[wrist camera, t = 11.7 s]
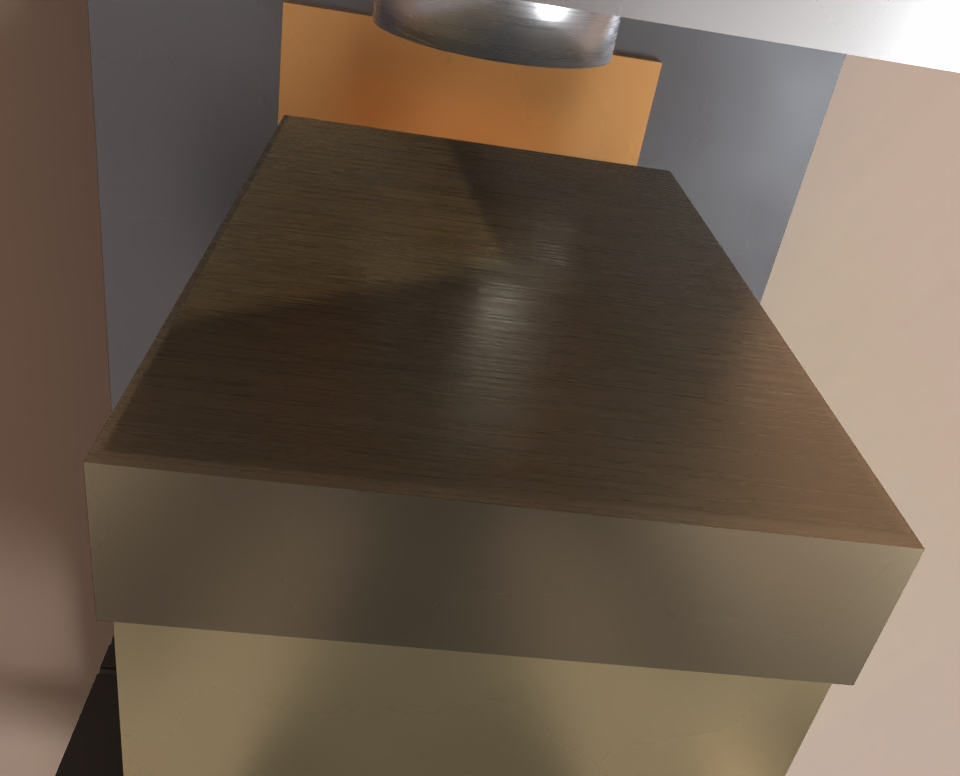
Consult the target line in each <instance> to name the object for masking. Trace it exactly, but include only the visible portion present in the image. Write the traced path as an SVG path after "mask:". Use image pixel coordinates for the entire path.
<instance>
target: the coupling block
mask: <svg viewBox="0 0 960 776" xmlns="http://www.w3.org/2000/svg"><path fill="white" fill-rule="evenodd" d="M84 474H85V487H86V499H87V512H88V524H89V537H90V549H91V562H92V575H93V587H94V600H95V612H96V620H97V621H109V622H113V625H114V640H115V655H116V670H117V685H118V700H119V715H120V730H121V745H122V760H123V775H124V776H785V775H786V773H787V771H788V769H789V767H790V765H791V763H792V761H793V759H794V757H795V755H796V753H797V751H798V749H799V747H800V745H801V743H802V741H803V739H804V737H805V735H806V733H807V731H808V729H809V727H810V725H811V723H812V722H813V720H814V718H815V716H816V714H817V712H818V710H819V708H820V706H821V704H822V702H823V700H824V698H825V696H826V694H827V692H828V690H829V688H830V686H831V684H832V683H833V684H845V685H854V683H855V681H856V679H857V677H858V675H859V674H860V672H861V670H862V668H863V666H864V664H865V662H866V660H867V658H868V656H869V654H870V653H871V651H872V649H873V647H874V645H875V643H876V641H877V639H878V637H879V635H880V634H881V632H882V630H883V628H884V626H885V624H886V622H887V620H888V618H889V616H890V615H891V613H892V611H893V609H894V607H895V605H896V603H897V601H898V599H899V597H900V595H901V594H902V592H903V590H904V588H905V586H906V584H907V582H908V580H909V578H910V576H911V575H912V573H913V571H914V569H915V567H916V565H917V563H918V561H919V559H920V557H921V555H922V554H923V552H924V550H925V549H924V547H923V546H922V544H921V543H920V541H919V540H918V538H917V537H916V535H915V534H914V532H913V531H912V529H911V528H910V527H909V525H908V524H907V522H906V521H905V519H904V518H903V516H902V515H901V513H900V512H899V510H898V509H897V507H896V506H895V504H894V503H893V501H892V500H891V498H890V497H889V495H888V494H887V492H886V491H885V489H884V488H883V486H882V485H881V483H880V482H879V480H878V479H877V477H876V476H875V474H874V473H873V472H872V470H871V469H870V467H869V466H868V464H867V463H866V461H865V460H864V458H863V457H862V455H861V454H860V452H859V451H858V449H857V448H856V446H855V445H854V443H853V442H852V440H851V439H850V437H849V436H848V434H847V433H846V431H845V430H844V428H843V427H842V425H841V424H840V422H839V421H838V419H837V418H836V417H835V415H834V414H833V412H832V411H831V409H830V408H829V406H828V405H827V403H826V402H825V400H824V399H823V397H822V396H821V394H820V393H819V391H818V390H817V388H816V387H815V385H814V384H813V382H812V381H811V379H810V378H809V376H808V375H807V373H806V372H805V370H804V369H803V367H802V366H801V365H800V363H799V362H798V360H797V359H796V357H795V356H794V354H793V353H792V351H791V350H790V348H789V347H788V345H787V344H786V342H785V341H784V339H783V338H782V336H781V335H780V333H779V332H778V330H777V329H776V327H775V326H774V324H773V323H772V321H771V320H770V318H769V317H768V315H767V314H766V312H765V311H764V310H763V308H762V307H761V305H760V304H759V302H758V301H757V299H756V298H755V296H754V295H753V293H752V292H751V290H750V289H749V287H748V286H747V284H746V283H745V281H744V280H743V278H742V277H741V275H740V274H739V272H738V271H737V269H736V268H735V266H734V265H733V263H732V262H731V260H730V259H729V257H728V256H727V255H726V253H725V252H724V250H723V249H722V247H721V246H720V244H719V243H718V241H717V240H716V238H715V237H714V235H713V234H712V232H711V231H710V229H709V228H708V226H707V225H706V223H705V222H704V220H703V219H702V217H701V216H700V214H699V213H698V211H697V210H696V208H695V207H694V205H693V204H692V202H691V201H690V200H689V198H688V197H687V195H686V194H685V192H684V191H683V189H682V188H681V186H680V185H679V183H678V182H677V180H676V179H675V177H674V176H673V174H672V173H671V171H668V170H661V169H654V168H647V167H640V166H633V165H626V164H620V163H613V162H606V161H599V160H592V159H585V158H578V157H572V156H565V155H558V154H551V153H544V152H537V151H530V150H524V149H517V148H510V147H503V146H496V145H489V144H483V143H476V142H469V141H462V140H455V139H448V138H441V137H435V136H428V135H421V134H414V133H407V132H400V131H393V130H387V129H380V128H373V127H366V126H359V125H352V124H345V123H339V122H332V121H325V120H318V119H311V118H304V117H298V116H291V115H284V116H283V118H282V120H281V121H280V123H279V125H278V127H277V128H276V130H275V132H274V134H273V135H272V137H271V139H270V140H269V142H268V144H267V146H266V147H265V149H264V151H263V153H262V154H261V156H260V158H259V160H258V161H257V163H256V165H255V166H254V168H253V170H252V172H251V173H250V175H249V177H248V179H247V180H246V182H245V184H244V185H243V187H242V189H241V191H240V192H239V194H238V196H237V198H236V199H235V201H234V203H233V205H232V206H231V208H230V210H229V211H228V213H227V215H226V217H225V218H224V220H223V222H222V224H221V225H220V227H219V229H218V230H217V232H216V234H215V236H214V237H213V239H212V241H211V243H210V244H209V246H208V248H207V250H206V251H205V253H204V255H203V256H202V258H201V260H200V262H199V263H198V265H197V267H196V269H195V270H194V272H193V274H192V275H191V277H190V279H189V281H188V282H187V284H186V286H185V288H184V289H183V291H182V293H181V294H180V296H179V298H178V300H177V301H176V303H175V305H174V307H173V308H172V310H171V312H170V314H169V315H168V317H167V319H166V320H165V322H164V324H163V326H162V327H161V329H160V331H159V333H158V334H157V336H156V338H155V339H154V341H153V343H152V345H151V346H150V348H149V350H148V352H147V353H146V355H145V357H144V359H143V360H142V362H141V364H140V365H139V367H138V369H137V371H136V372H135V374H134V376H133V378H132V379H131V381H130V383H129V384H128V386H127V388H126V390H125V391H124V393H123V395H122V397H121V398H120V400H119V402H118V404H117V405H116V407H115V409H114V410H113V412H112V414H111V416H110V417H109V419H108V421H107V423H106V424H105V426H104V428H103V429H102V431H101V433H100V435H99V436H98V438H97V440H96V442H95V443H94V445H93V447H92V449H91V450H90V452H89V454H88V455H87V457H86V459H85V461H84Z"/></svg>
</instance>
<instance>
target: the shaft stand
mask: <svg viewBox="0 0 960 776" xmlns="http://www.w3.org/2000/svg"><path fill="white" fill-rule="evenodd" d="M88 14H89V31H90V49H91V66H92V83H93V100H94V117H95V135H96V152H97V169H98V186H99V204H100V221H101V238H102V255H103V273H104V290H105V307H106V324H107V341H108V359H109V376H110V393H111V410H112V412H113V410H114V409H115V407H116V405H117V404H118V402H119V400H120V398H121V397H122V395H123V393H124V391H125V390H126V388H127V386H128V384H129V383H130V381H131V379H132V378H133V376H134V374H135V372H136V371H137V369H138V367H139V365H140V364H141V362H142V360H143V359H144V357H145V355H146V353H147V352H148V350H149V348H150V346H151V345H152V343H153V341H154V339H155V338H156V336H157V334H158V333H159V331H160V329H161V327H162V326H163V324H164V322H165V320H166V319H167V317H168V315H169V314H170V312H171V310H172V308H173V307H174V305H175V303H176V301H177V300H178V298H179V296H180V294H181V293H182V291H183V289H184V288H185V286H186V284H187V282H188V281H189V279H190V277H191V275H192V274H193V272H194V270H195V269H196V267H197V265H198V263H199V262H200V260H201V258H202V256H203V255H204V253H205V251H206V250H207V248H208V246H209V244H210V243H211V241H212V239H213V237H214V236H215V234H216V232H217V230H218V229H219V227H220V225H221V224H222V222H223V220H224V218H225V217H226V215H227V213H228V211H229V210H230V208H231V206H232V205H233V203H234V201H235V199H236V198H237V196H238V194H239V192H240V191H241V189H242V187H243V185H244V184H245V182H246V180H247V179H248V177H249V175H250V173H251V172H252V170H253V168H254V166H255V165H256V163H257V161H258V160H259V158H260V156H261V154H262V153H263V151H264V149H265V147H266V146H267V144H268V142H269V140H270V139H271V137H272V135H273V134H274V132H275V130H276V128H277V127H278V125H279V123H280V121H281V120H282V118H283V116H284V115H291V116H298V117H304V118H311V119H318V120H325V121H332V122H339V123H345V124H352V125H359V126H366V127H373V128H380V129H387V130H393V131H400V132H407V133H414V134H421V135H428V136H435V137H441V138H448V139H455V140H462V141H469V142H476V143H483V144H489V145H496V146H503V147H510V148H517V149H524V150H530V151H537V152H544V153H551V154H558V155H565V156H572V157H578V158H585V159H592V160H599V161H606V162H613V163H620V164H626V165H633V166H640V167H647V168H654V169H661V170H668V171H671V173H672V174H673V176H674V177H675V179H676V180H677V182H678V183H679V185H680V186H681V188H682V189H683V191H684V192H685V194H686V195H687V197H688V198H689V200H690V201H691V202H692V204H693V205H694V207H695V208H696V210H697V211H698V213H699V214H700V216H701V217H702V219H703V220H704V222H705V223H706V225H707V226H708V228H709V229H710V231H711V232H712V234H713V235H714V237H715V238H716V240H717V241H718V243H719V244H720V246H721V247H722V249H723V250H724V252H725V253H726V255H727V256H728V257H729V259H730V260H731V262H732V263H733V265H734V266H735V268H736V269H737V271H738V272H739V274H740V275H741V277H742V278H743V280H744V281H745V283H746V284H747V286H748V287H749V289H750V290H751V292H752V293H753V295H754V296H755V298H756V299H757V301H758V302H759V304H760V302H761V299H762V296H763V293H764V290H765V287H766V284H767V281H768V278H769V275H770V273H771V270H772V267H773V264H774V261H775V258H776V255H777V252H778V249H779V247H780V244H781V241H782V238H783V235H784V232H785V229H786V226H787V223H788V221H789V218H790V215H791V212H792V209H793V206H794V203H795V200H796V197H797V195H798V192H799V189H800V186H801V183H802V180H803V177H804V174H805V171H806V168H807V166H808V163H809V160H810V157H811V154H812V151H813V148H814V145H815V142H816V140H817V137H818V134H819V131H820V128H821V125H822V122H823V119H824V116H825V114H826V111H827V108H828V105H829V102H830V99H831V96H832V93H833V90H834V88H835V85H836V82H837V79H838V76H839V73H840V70H841V67H842V64H843V61H844V59H845V56H846V54H849V55H856V56H862V57H868V58H874V59H880V60H886V61H892V62H898V63H904V64H910V65H916V66H922V67H928V68H934V69H941V70H947V71H953V72H959V73H960V0H88Z"/></svg>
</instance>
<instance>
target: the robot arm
mask: <svg viewBox="0 0 960 776" xmlns="http://www.w3.org/2000/svg"><path fill="white" fill-rule="evenodd" d="M55 776H124V775H123V760H122V745H121V730H120V715H119V700H118V685H117V670H116V655H115V640H114V635H113V639H112V644H111V645H109V648H108V650H107V652H106V655H105V657H104V660H103V662H102V664H101V668H100V673H99V674H97V676H96V679H95V681H94V684H93V686H92V688H91V691H90V693H89V696H88V698H87V700H86V703H85V705H84V708H83V710H82V713H81V715H80V717H79V720H78V722H77V725H76V727H75V729H74V732H73V734H72V737H71V739H70V741H69V744H68V746H67V749H66V751H65V753H64V756H63V758H62V761H61V763H60V766H59V768H58V770H57V773H56V775H55Z"/></svg>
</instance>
